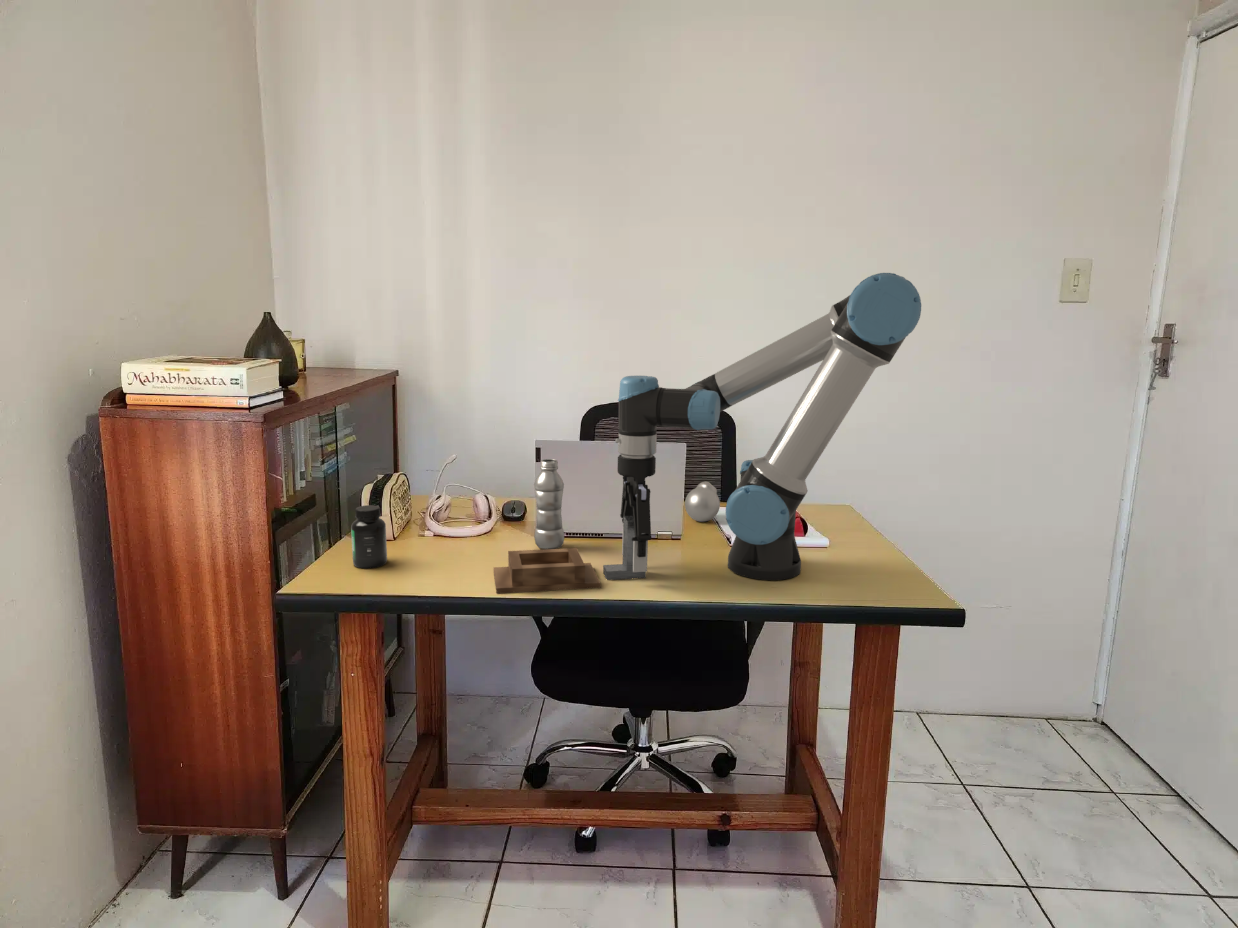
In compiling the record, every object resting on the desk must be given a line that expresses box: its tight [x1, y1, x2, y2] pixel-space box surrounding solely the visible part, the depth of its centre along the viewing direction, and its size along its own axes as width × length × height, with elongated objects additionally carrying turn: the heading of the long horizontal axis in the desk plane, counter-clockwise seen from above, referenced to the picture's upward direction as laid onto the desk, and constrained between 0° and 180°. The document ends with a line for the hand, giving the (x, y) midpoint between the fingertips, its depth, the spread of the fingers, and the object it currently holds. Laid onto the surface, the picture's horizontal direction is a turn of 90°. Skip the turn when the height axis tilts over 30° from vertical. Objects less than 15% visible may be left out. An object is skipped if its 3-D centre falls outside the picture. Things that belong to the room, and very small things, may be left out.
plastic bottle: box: [533, 458, 565, 550], centre depth 176 cm, size 6×7×20 cm
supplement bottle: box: [350, 504, 388, 570], centre depth 165 cm, size 7×7×12 cm
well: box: [492, 547, 601, 594], centre depth 158 cm, size 20×12×4 cm, turn 101°
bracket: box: [602, 516, 647, 581], centre depth 161 cm, size 8×4×12 cm, turn 101°
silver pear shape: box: [684, 480, 721, 523], centre depth 202 cm, size 9×10×10 cm
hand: (634, 562), depth 162 cm, fingers open, 10 cm apart
